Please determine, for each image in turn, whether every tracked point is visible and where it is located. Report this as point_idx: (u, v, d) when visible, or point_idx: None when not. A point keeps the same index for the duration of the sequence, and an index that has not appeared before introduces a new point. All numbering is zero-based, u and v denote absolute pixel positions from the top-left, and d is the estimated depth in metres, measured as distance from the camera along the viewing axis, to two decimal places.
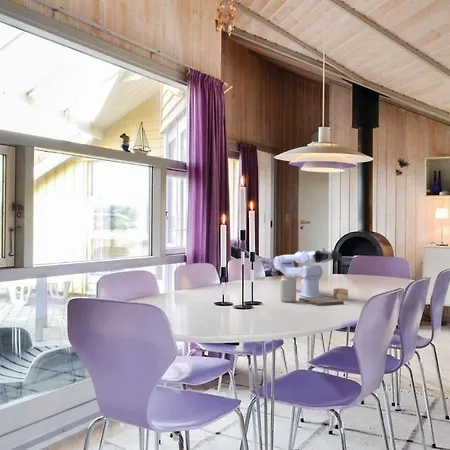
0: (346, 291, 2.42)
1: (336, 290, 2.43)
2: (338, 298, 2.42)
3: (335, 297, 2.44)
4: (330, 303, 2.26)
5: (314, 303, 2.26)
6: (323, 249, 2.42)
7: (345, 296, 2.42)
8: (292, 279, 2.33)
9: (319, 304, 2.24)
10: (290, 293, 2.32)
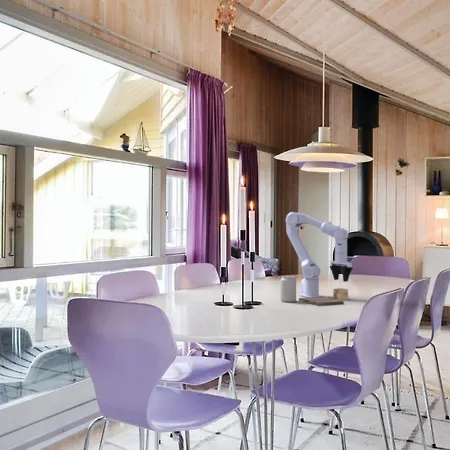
0: (346, 291, 2.42)
1: (336, 290, 2.43)
2: (338, 298, 2.42)
3: (335, 297, 2.44)
4: (330, 303, 2.26)
5: (314, 303, 2.26)
6: None
7: (345, 296, 2.42)
8: (292, 279, 2.33)
9: (319, 304, 2.24)
10: (290, 293, 2.32)
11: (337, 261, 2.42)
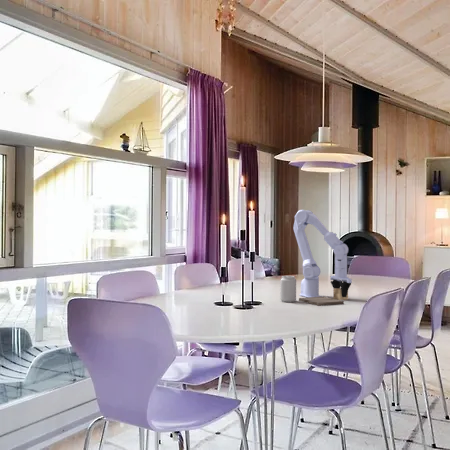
0: None
1: (336, 290, 2.43)
2: (338, 298, 2.42)
3: (335, 297, 2.44)
4: (330, 303, 2.26)
5: (314, 303, 2.26)
6: None
7: None
8: (292, 279, 2.33)
9: (319, 304, 2.24)
10: (290, 293, 2.32)
11: (337, 277, 2.42)
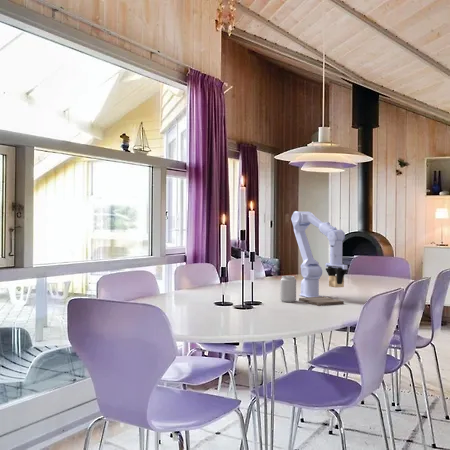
0: None
1: (332, 277, 2.37)
2: (334, 285, 2.35)
3: (331, 284, 2.38)
4: (330, 303, 2.26)
5: (314, 303, 2.26)
6: None
7: None
8: (292, 279, 2.33)
9: (319, 304, 2.24)
10: (290, 293, 2.32)
11: (332, 263, 2.36)
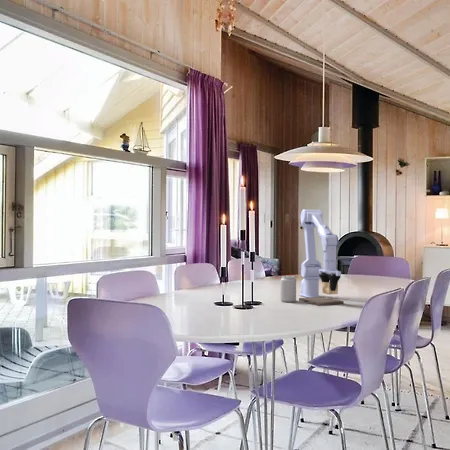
0: None
1: (325, 284, 2.30)
2: (327, 292, 2.28)
3: (324, 291, 2.30)
4: (330, 303, 2.26)
5: (314, 303, 2.26)
6: None
7: (335, 290, 2.29)
8: (292, 279, 2.33)
9: (319, 304, 2.24)
10: (290, 293, 2.32)
11: (325, 269, 2.29)
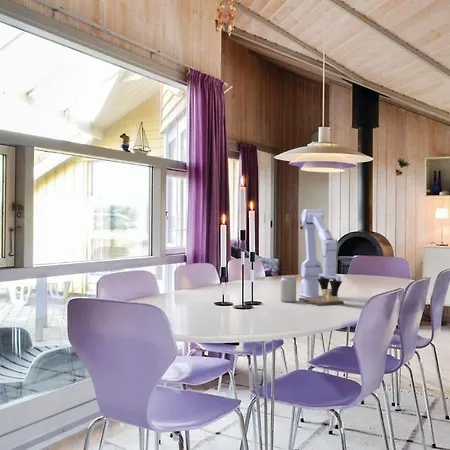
0: None
1: (325, 291, 2.30)
2: (327, 299, 2.28)
3: (324, 298, 2.31)
4: (330, 303, 2.26)
5: (314, 303, 2.26)
6: None
7: (334, 297, 2.29)
8: (292, 279, 2.33)
9: (319, 304, 2.24)
10: (290, 293, 2.32)
11: (325, 274, 2.29)
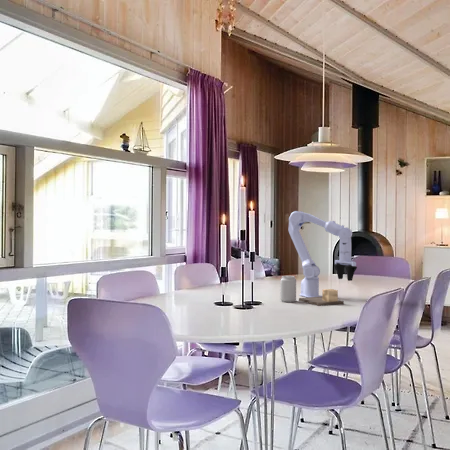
0: (336, 292, 2.29)
1: (325, 291, 2.30)
2: (327, 299, 2.28)
3: (324, 298, 2.31)
4: (330, 303, 2.26)
5: (314, 303, 2.26)
6: None
7: (334, 297, 2.29)
8: (292, 279, 2.33)
9: (319, 304, 2.24)
10: (290, 293, 2.32)
11: (341, 260, 2.43)
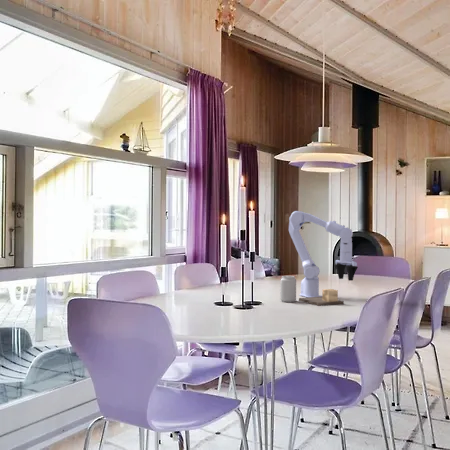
0: (336, 292, 2.29)
1: (325, 291, 2.30)
2: (327, 299, 2.28)
3: (324, 298, 2.31)
4: (330, 303, 2.26)
5: (314, 303, 2.26)
6: None
7: (334, 297, 2.29)
8: (292, 279, 2.33)
9: (319, 304, 2.24)
10: (290, 293, 2.32)
11: (342, 260, 2.43)
